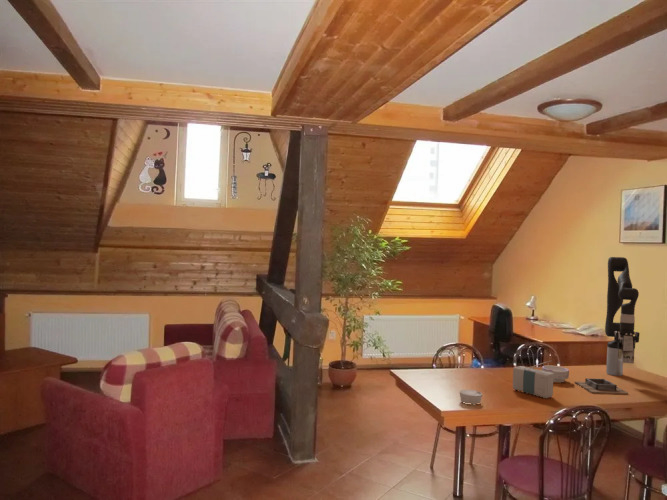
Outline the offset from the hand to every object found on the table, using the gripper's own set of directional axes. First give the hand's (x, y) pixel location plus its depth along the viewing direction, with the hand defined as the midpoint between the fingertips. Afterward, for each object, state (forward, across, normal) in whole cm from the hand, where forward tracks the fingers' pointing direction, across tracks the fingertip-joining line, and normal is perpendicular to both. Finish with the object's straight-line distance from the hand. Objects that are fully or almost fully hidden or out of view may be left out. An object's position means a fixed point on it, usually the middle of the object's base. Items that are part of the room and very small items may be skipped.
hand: (626, 349), depth 318 cm
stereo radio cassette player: (+21, +64, +26) cm, 72 cm away
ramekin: (+21, +103, +46) cm, 115 cm away
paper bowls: (+21, +40, -4) cm, 46 cm away
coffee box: (+8, 0, 0) cm, 8 cm away
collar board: (+21, +20, +11) cm, 31 cm away
